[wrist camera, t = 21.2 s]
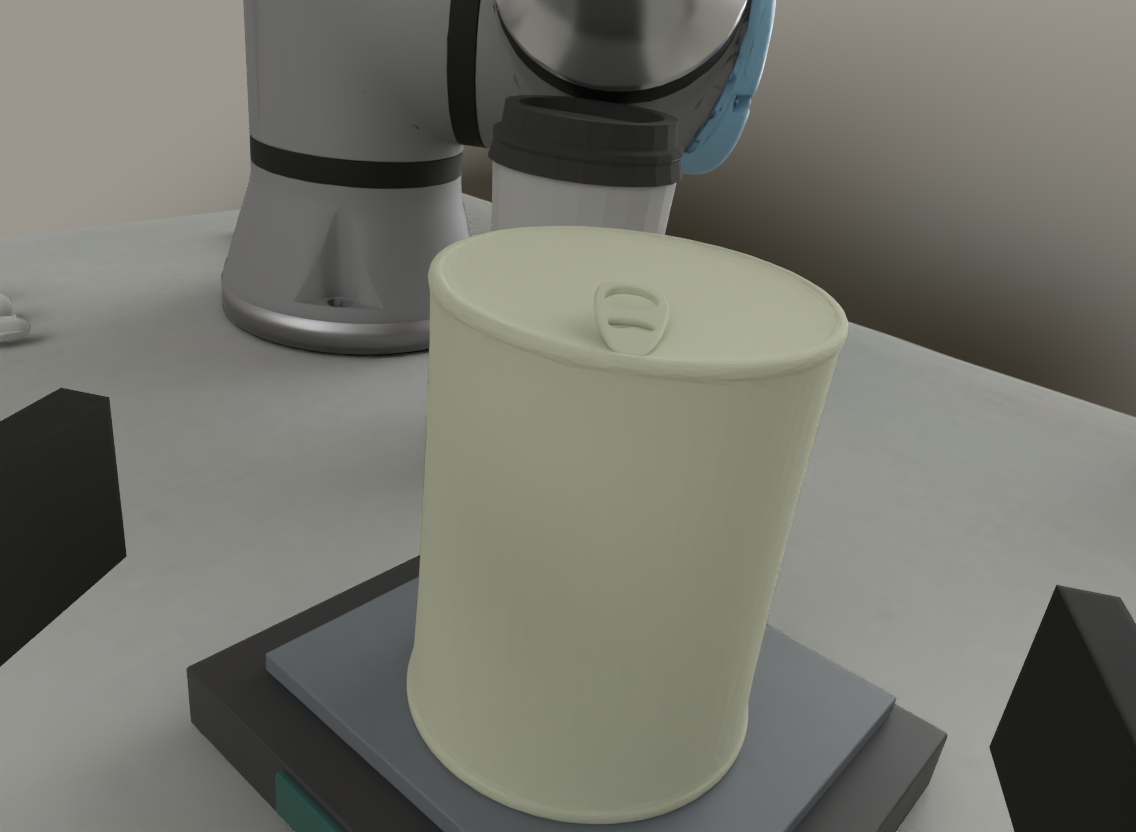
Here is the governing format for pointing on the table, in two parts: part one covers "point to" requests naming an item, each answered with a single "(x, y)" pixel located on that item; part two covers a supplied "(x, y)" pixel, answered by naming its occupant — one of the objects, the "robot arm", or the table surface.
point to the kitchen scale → (486, 827)
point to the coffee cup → (583, 164)
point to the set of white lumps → (11, 322)
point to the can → (606, 509)
